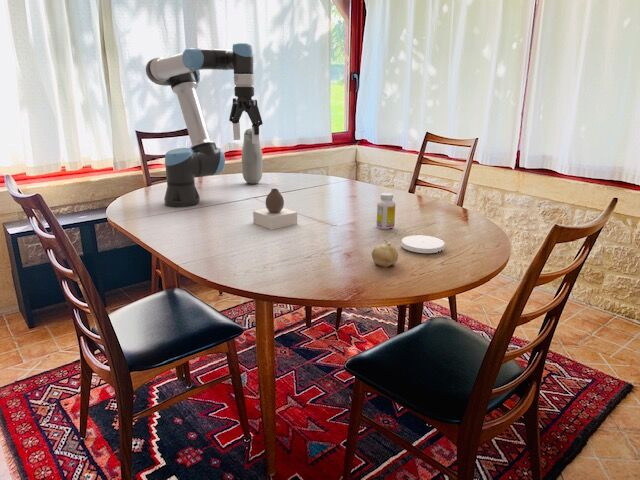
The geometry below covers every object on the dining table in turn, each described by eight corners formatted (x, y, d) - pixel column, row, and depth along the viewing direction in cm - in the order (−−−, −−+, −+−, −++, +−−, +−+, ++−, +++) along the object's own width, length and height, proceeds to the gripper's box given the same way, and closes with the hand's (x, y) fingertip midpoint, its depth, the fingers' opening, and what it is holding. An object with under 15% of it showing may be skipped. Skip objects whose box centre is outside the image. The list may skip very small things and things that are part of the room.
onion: (400, 269, 150) (401, 246, 148) (373, 269, 150) (374, 247, 148) (394, 259, 158) (395, 238, 156) (369, 260, 157) (370, 238, 155)
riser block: (253, 223, 195) (253, 211, 194) (278, 218, 203) (278, 206, 201) (271, 230, 187) (271, 217, 185) (297, 224, 194) (297, 212, 193)
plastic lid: (414, 239, 178) (414, 232, 177) (451, 248, 170) (451, 241, 169) (393, 249, 168) (393, 242, 167) (431, 259, 159) (432, 251, 158)
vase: (282, 214, 189) (282, 192, 186) (264, 213, 190) (264, 191, 187) (284, 209, 196) (285, 187, 193) (267, 208, 196) (267, 186, 193)
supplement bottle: (395, 225, 192) (397, 193, 188) (392, 230, 186) (394, 196, 182) (378, 224, 195) (380, 191, 190) (374, 228, 189) (376, 195, 184)
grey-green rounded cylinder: (239, 183, 263) (237, 128, 254) (255, 180, 270) (253, 127, 261) (250, 186, 256) (248, 130, 248) (266, 183, 263) (265, 128, 254)
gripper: (219, 85, 202) (221, 139, 208) (254, 87, 184) (255, 145, 191) (235, 85, 206) (237, 137, 213) (270, 86, 189) (272, 144, 195)
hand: (246, 141), depth 202 cm, fingers open, 13 cm apart
